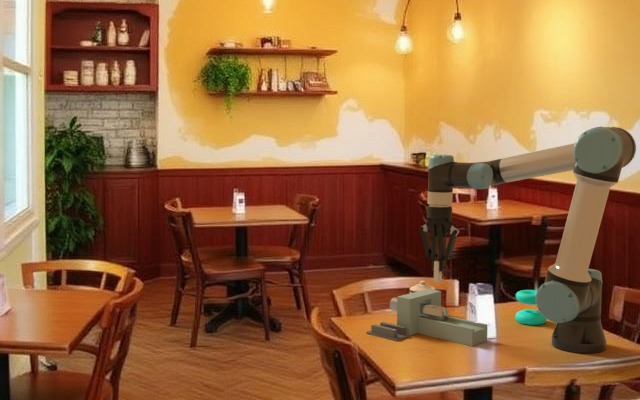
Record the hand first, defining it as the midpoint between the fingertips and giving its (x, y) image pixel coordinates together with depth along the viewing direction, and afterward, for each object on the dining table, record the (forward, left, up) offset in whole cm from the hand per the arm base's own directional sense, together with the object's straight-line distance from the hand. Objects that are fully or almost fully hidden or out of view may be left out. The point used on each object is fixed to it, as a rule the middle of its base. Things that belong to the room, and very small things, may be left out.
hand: (437, 281), depth 235 cm
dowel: (+8, 0, -12) cm, 15 cm away
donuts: (-13, -33, -17) cm, 39 cm away
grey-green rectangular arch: (+7, 0, -16) cm, 18 cm away
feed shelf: (-5, 0, -16) cm, 17 cm away
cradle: (+10, +12, -16) cm, 22 cm away
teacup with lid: (+19, -17, -17) cm, 30 cm away
